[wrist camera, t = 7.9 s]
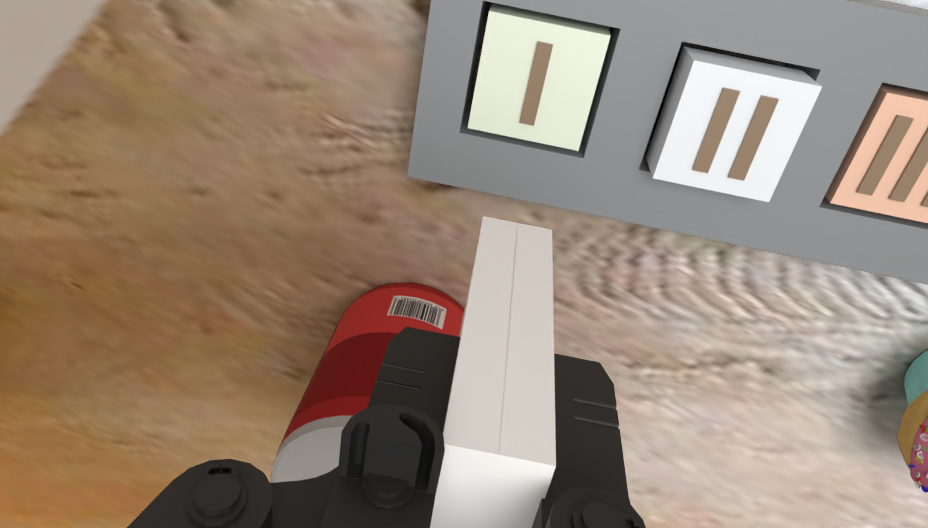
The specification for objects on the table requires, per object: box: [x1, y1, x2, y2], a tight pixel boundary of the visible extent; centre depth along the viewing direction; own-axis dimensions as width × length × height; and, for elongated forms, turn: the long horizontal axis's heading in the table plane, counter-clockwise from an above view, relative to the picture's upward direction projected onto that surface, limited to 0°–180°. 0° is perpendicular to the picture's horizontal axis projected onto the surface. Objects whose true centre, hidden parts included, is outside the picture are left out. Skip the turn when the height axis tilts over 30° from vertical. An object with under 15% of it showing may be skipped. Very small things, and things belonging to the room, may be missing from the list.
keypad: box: [407, 0, 928, 284], centre depth 27 cm, size 24×10×3 cm, turn 80°
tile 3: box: [825, 82, 928, 223], centre depth 26 cm, size 5×5×2 cm
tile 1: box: [468, 3, 611, 151], centre depth 27 cm, size 5×5×2 cm
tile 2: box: [646, 46, 822, 202], centre depth 25 cm, size 5×5×2 cm
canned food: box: [271, 283, 464, 483], centre depth 32 cm, size 8×8×11 cm
